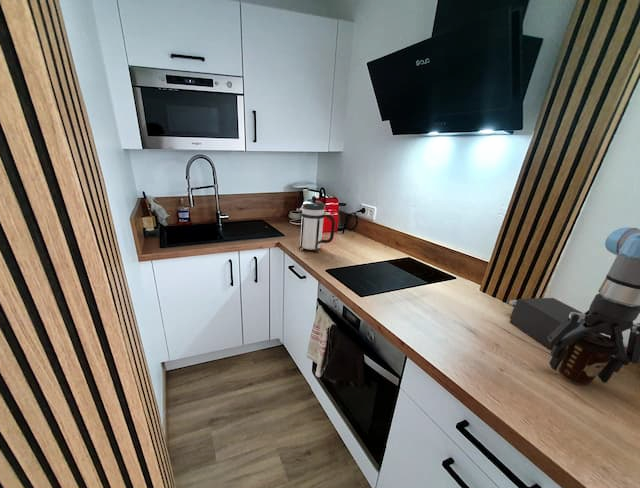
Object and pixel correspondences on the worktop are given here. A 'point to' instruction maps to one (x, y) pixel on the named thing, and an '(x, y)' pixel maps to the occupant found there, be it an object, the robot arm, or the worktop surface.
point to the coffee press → (314, 225)
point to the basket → (514, 302)
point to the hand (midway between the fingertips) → (576, 372)
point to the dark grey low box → (541, 318)
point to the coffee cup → (587, 358)
